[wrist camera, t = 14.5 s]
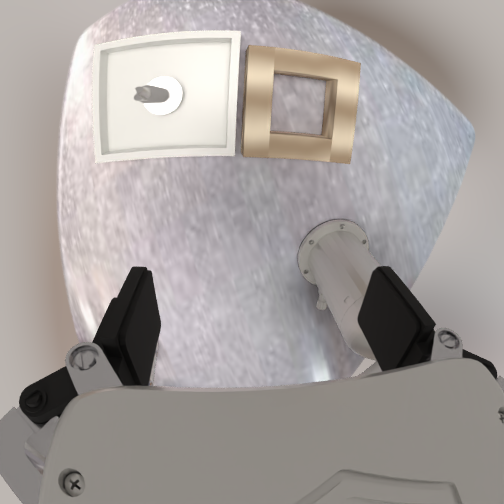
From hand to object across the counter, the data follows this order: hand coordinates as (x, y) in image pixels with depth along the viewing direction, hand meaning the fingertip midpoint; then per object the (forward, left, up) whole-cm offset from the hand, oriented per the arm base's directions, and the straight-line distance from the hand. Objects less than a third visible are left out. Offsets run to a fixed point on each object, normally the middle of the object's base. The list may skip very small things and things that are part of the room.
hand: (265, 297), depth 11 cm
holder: (+8, -8, -29) cm, 31 cm away
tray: (+9, +9, -29) cm, 31 cm away
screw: (+8, +9, -28) cm, 31 cm away
